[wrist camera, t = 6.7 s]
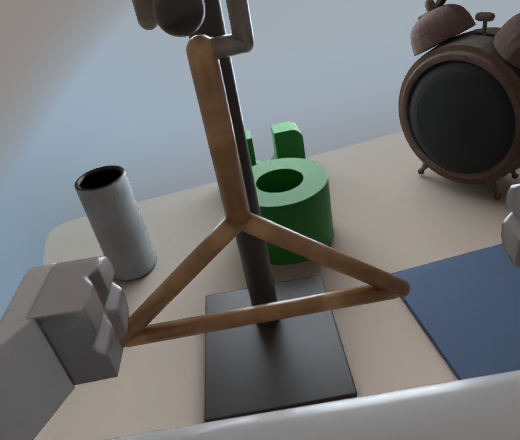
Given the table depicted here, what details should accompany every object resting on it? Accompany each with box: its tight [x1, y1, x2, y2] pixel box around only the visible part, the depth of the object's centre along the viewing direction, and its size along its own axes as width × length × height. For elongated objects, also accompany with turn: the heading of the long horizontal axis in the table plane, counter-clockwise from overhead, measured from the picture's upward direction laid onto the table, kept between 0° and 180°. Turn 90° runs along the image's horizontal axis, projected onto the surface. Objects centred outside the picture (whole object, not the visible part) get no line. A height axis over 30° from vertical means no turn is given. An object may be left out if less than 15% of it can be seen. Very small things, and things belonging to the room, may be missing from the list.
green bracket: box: [245, 122, 333, 264], centre depth 50 cm, size 18×9×6 cm, turn 8°
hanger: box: [119, 0, 410, 348], centre depth 22 cm, size 1×17×19 cm, turn 95°
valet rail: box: [152, 0, 357, 423], centre depth 26 cm, size 18×10×27 cm, turn 5°
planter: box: [75, 166, 156, 280], centre depth 45 cm, size 4×4×10 cm
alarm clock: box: [399, 0, 520, 200], centre depth 45 cm, size 14×7×20 cm, turn 39°
